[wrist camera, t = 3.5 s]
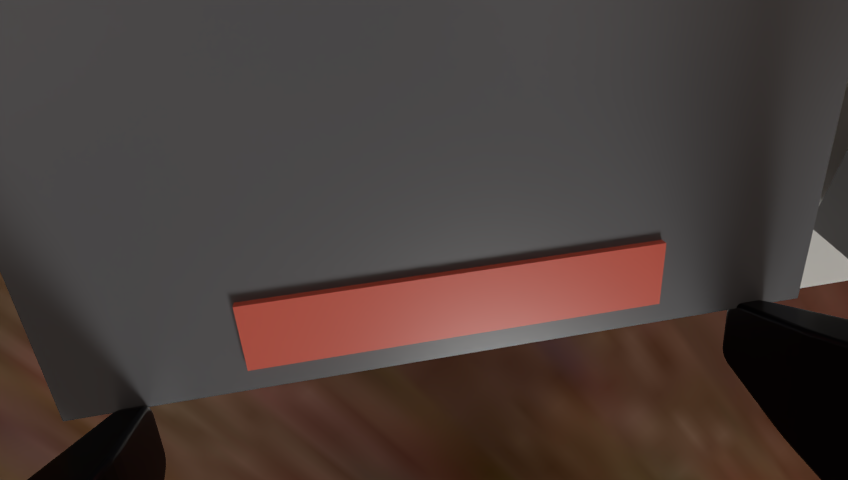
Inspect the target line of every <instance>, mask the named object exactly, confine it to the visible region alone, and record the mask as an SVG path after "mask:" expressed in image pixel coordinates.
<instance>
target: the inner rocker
mask: <svg viewBox="0 0 848 480" xmlns="http://www.w3.org/2000/svg"><path fill="white" fill-rule="evenodd" d="M813 230H814V231H816V232H817V233H818V234H819V235H820V236H822V237H823V238H824V239H825V240H826V241H827V242H829V243H830V244H831V245H832V246H833V247H835V248H836V249H837V250H838V251H839V252H840V253H842V254H843V255H844V256H845V257H846V258H847V259H848V149H847V151H846V153H845V155H844V157H843V159H842V161H841V163H840V165H839V167H838V169H837V171H836V173H835V175H834V177H833V179H832V181H831V183H830V185H829V187H828V189H827V191H826V193H825V195H824V197H823V199H822V201H821V203H820V205H819V207H818V211H817V216H816V220H815V224H814V229H813Z"/></svg>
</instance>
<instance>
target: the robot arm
mask: <svg viewBox="0 0 848 480" xmlns="http://www.w3.org/2000/svg"><path fill="white" fill-rule="evenodd" d="M723 353H724V357H725V359H726V361H727V363H728V364H729V366H730V367H731V368H732V370H733V371H734V372H735V374H736V375H737V376H738V378H739V379H740V380H741V382H742V383H743V384H744V386H745V387H746V388H747V390H748V391H749V392H750V394H751V395H752V396H753V398H754V399H755V400H756V402H757V403H758V404H759V406H760V407H761V408H762V410H763V411H764V413H765V414H766V415H767V417H768V418H769V419H770V421H771V422H772V423H773V425H774V426H775V427H776V428H777V430H778V431H779V432H780V434H781V435H782V436H783V437H784V439H785V440H786V441H787V442H788V443H789V444H790V446H791V447H792V448H793V449H794V450H795V451H796V452H797V454H798V455H799V456H800V457H801V458H802V459H803V460H804V461H805V462H806V464H807V465H808V466H809V467H810V468H811V469H812V470H813V471H814V472H815V474H816V475H817V476H818V477H819V478H820V479H821V480H848V319H844V318H839V317H835V316H830V315H825V314H821V313H816V312H812V311H807V310H803V309H798V308H794V307H789V306H785V305H780V304H776V303H771V302H767V301H762V300H756V301H750V302H744V303H740V304H739V305H738V306H737V308H735V309H729V310H728V311H727V316H726V324H725V332H724V340H723ZM165 470H166V458H165V452H164V448H163V445H162V442H161V438H160V435H159V432H158V428H157V425H156V422H155V418H154V415H153V413H152V411H151V409H150V408H149V407H147V406H138V407H132V408H126V409H120V410H118V411H115V412H114V413H113V414H111V415H110V416H109V417H107V418H106V419H105V420H104V421H102V422H101V423H100V424H98V425H97V426H96V427H95V428H93V429H92V430H91V431H89V432H88V433H87V434H86V435H84V436H83V437H82V438H80V439H79V440H78V441H77V442H75V443H74V444H73V445H71V446H70V447H69V448H68V449H66V450H65V451H64V452H62V453H61V454H60V455H59V456H57V457H56V458H55V459H53V460H52V461H51V462H49V463H48V464H47V465H46V466H44V467H43V468H42V469H40V470H39V471H38V472H37V473H35V474H34V475H33V476H31V477H30V478H29V479H28V480H164V477H165Z"/></svg>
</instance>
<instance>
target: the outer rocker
mask: <svg viewBox="0 0 848 480" xmlns="http://www.w3.org/2000/svg"><path fill="white" fill-rule="evenodd" d="M847 81H848V0H0V272H1V274H2V277H3V279H4V281H5V284H6V286H7V289H8V291H9V293H10V296H11V298H12V301H13V303H14V305H15V308H16V310H17V312H18V315H19V317H20V320H21V322H22V324H23V327H24V329H25V332H26V334H27V336H28V339H29V341H30V344H31V346H32V348H33V351H34V353H35V356H36V358H37V360H38V363H39V365H40V367H41V370H42V372H43V375H44V377H45V379H46V382H47V384H48V387H49V389H50V391H51V394H52V396H53V399H54V401H55V403H56V406H57V408H58V410H59V413H60V415H61V418H62V420H63V421H68V420H74V419H80V418H85V417H91V416H97V415H103V414H109V413H114V412H115V411H118V410H120V409H126V408H132V407H138V406H147V407H151V406H157V405H163V404H169V403H175V402H181V401H187V400H193V399H199V398H205V397H211V396H217V395H222V394H228V393H234V392H240V391H246V390H252V389H258V388H264V387H270V386H276V385H282V384H288V383H294V382H300V381H306V380H312V379H318V378H324V377H330V376H336V375H342V374H348V373H354V372H359V371H365V370H371V369H377V368H383V367H389V366H395V365H401V364H407V363H413V362H419V361H425V360H431V359H437V358H443V357H449V356H455V355H461V354H467V353H473V352H479V351H485V350H491V349H496V348H502V347H508V346H514V345H520V344H526V343H532V342H538V341H544V340H550V339H556V338H562V337H568V336H574V335H580V334H586V333H592V332H598V331H604V330H610V329H616V328H622V327H628V326H633V325H639V324H645V323H651V322H657V321H663V320H669V319H675V318H681V317H687V316H693V315H699V314H705V313H711V312H717V311H723V310H729V309H735V308H737V306H738V305H739V304H740V303H744V302H750V301H756V300H762V301H767V302H776V301H782V300H788V299H794V298H798V294H799V290H800V285H801V281H802V277H803V272H804V268H805V264H806V259H807V255H808V251H809V246H810V242H811V238H812V233H813V229H814V224H815V220H816V216H817V211H818V207H819V203H820V198H821V194H822V190H823V185H824V181H825V177H826V172H827V168H828V164H829V159H830V155H831V151H832V146H833V142H834V138H835V133H836V129H837V125H838V120H839V116H840V112H841V107H842V103H843V99H844V94H845V90H846V86H847Z"/></svg>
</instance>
